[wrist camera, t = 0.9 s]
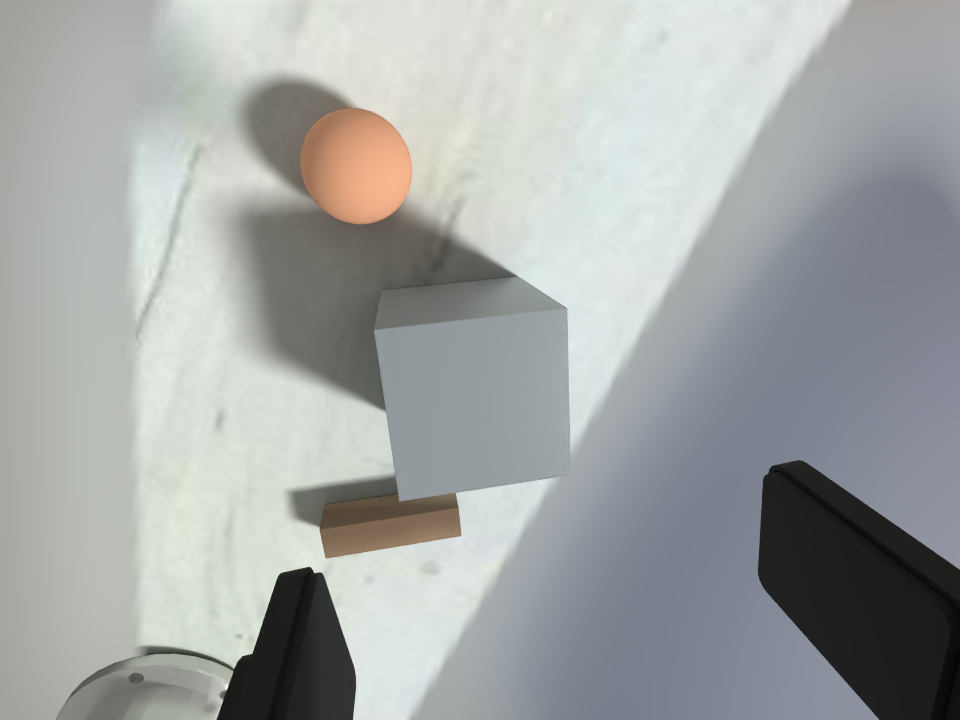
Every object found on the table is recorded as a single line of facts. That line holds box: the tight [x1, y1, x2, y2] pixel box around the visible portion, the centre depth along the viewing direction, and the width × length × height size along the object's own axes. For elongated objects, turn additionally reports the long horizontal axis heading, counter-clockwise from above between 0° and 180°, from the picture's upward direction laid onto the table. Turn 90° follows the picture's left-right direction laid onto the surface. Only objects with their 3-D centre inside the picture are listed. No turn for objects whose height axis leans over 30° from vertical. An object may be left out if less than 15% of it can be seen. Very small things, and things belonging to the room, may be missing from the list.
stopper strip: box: [320, 493, 461, 558], centre depth 31 cm, size 2×8×2 cm, turn 94°
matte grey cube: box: [374, 276, 570, 501], centre depth 25 cm, size 8×8×9 cm
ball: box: [300, 108, 412, 224], centre depth 23 cm, size 5×5×5 cm
